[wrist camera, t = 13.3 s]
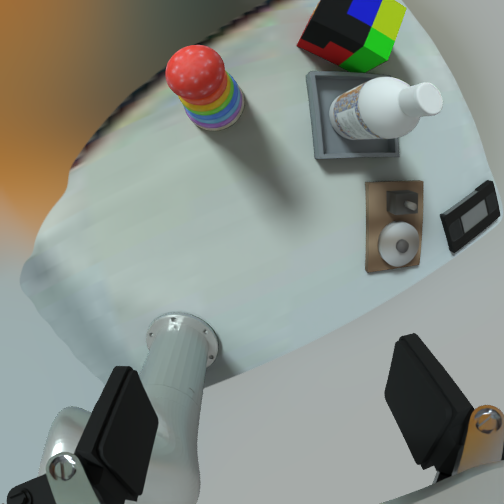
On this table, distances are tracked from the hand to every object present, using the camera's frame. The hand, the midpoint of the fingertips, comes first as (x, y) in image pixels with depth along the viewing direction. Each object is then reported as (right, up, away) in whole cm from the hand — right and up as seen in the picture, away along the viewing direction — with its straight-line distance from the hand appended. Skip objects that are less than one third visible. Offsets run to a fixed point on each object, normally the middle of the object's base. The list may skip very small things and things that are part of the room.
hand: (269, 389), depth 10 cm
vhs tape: (+39, +12, +34) cm, 53 cm away
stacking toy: (-6, +25, +28) cm, 38 cm away
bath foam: (+13, +24, +28) cm, 39 cm away
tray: (+14, +24, +28) cm, 40 cm away
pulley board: (+22, +9, +34) cm, 41 cm away
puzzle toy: (+12, +37, +24) cm, 46 cm away
